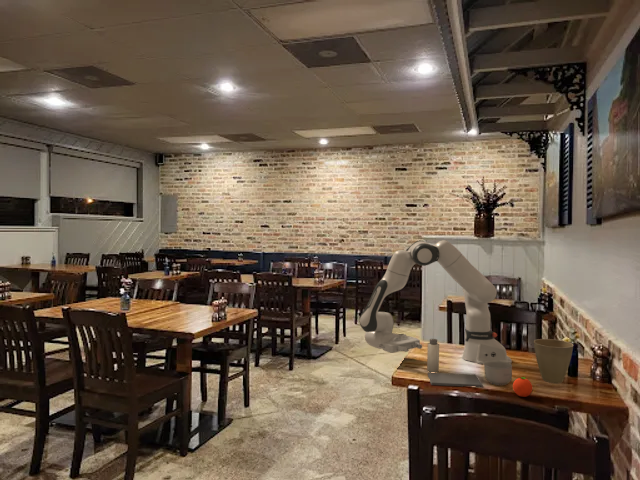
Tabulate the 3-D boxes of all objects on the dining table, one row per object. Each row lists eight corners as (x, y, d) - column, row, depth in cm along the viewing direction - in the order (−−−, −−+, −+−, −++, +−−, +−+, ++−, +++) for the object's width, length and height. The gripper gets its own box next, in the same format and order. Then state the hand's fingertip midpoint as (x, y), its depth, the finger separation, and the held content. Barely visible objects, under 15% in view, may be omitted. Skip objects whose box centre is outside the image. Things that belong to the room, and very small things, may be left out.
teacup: (508, 389, 193) (509, 369, 193) (480, 384, 199) (481, 364, 198) (515, 380, 205) (515, 361, 204) (488, 375, 210) (489, 357, 210)
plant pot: (526, 375, 211) (527, 338, 211) (559, 375, 212) (560, 338, 212) (544, 386, 196) (545, 347, 196) (580, 386, 197) (581, 347, 197)
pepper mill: (438, 369, 218) (438, 338, 218) (439, 373, 213) (440, 341, 213) (426, 369, 219) (427, 338, 219) (427, 372, 214) (428, 340, 214)
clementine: (515, 391, 190) (516, 373, 190) (534, 394, 186) (535, 376, 186) (510, 396, 184) (510, 378, 184) (530, 400, 180) (530, 381, 180)
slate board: (475, 376, 208) (475, 374, 208) (482, 387, 195) (482, 384, 194) (427, 374, 211) (427, 372, 211) (431, 385, 197) (431, 382, 197)
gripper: (376, 339, 229) (399, 344, 218) (406, 333, 242) (428, 338, 231) (376, 352, 229) (398, 358, 218) (406, 346, 242) (428, 351, 231)
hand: (414, 348), depth 225 cm, fingers open, 8 cm apart
